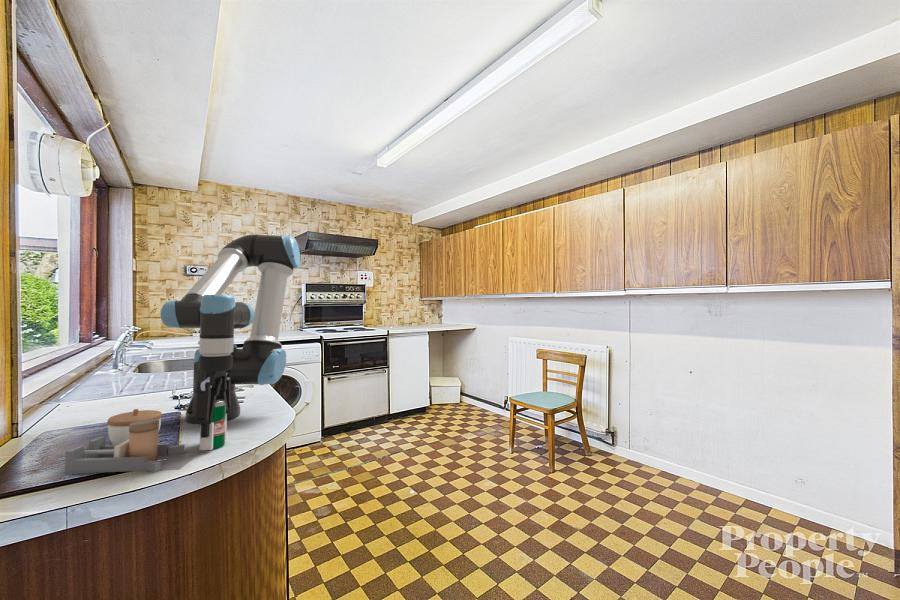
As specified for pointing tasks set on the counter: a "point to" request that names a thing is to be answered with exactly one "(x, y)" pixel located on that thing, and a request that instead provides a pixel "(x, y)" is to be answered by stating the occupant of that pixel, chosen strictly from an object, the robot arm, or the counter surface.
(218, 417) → the soda can
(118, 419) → the lidded jar
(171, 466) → the grey divided tray
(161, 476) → the counter surface
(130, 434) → the jar
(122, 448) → the pusher
